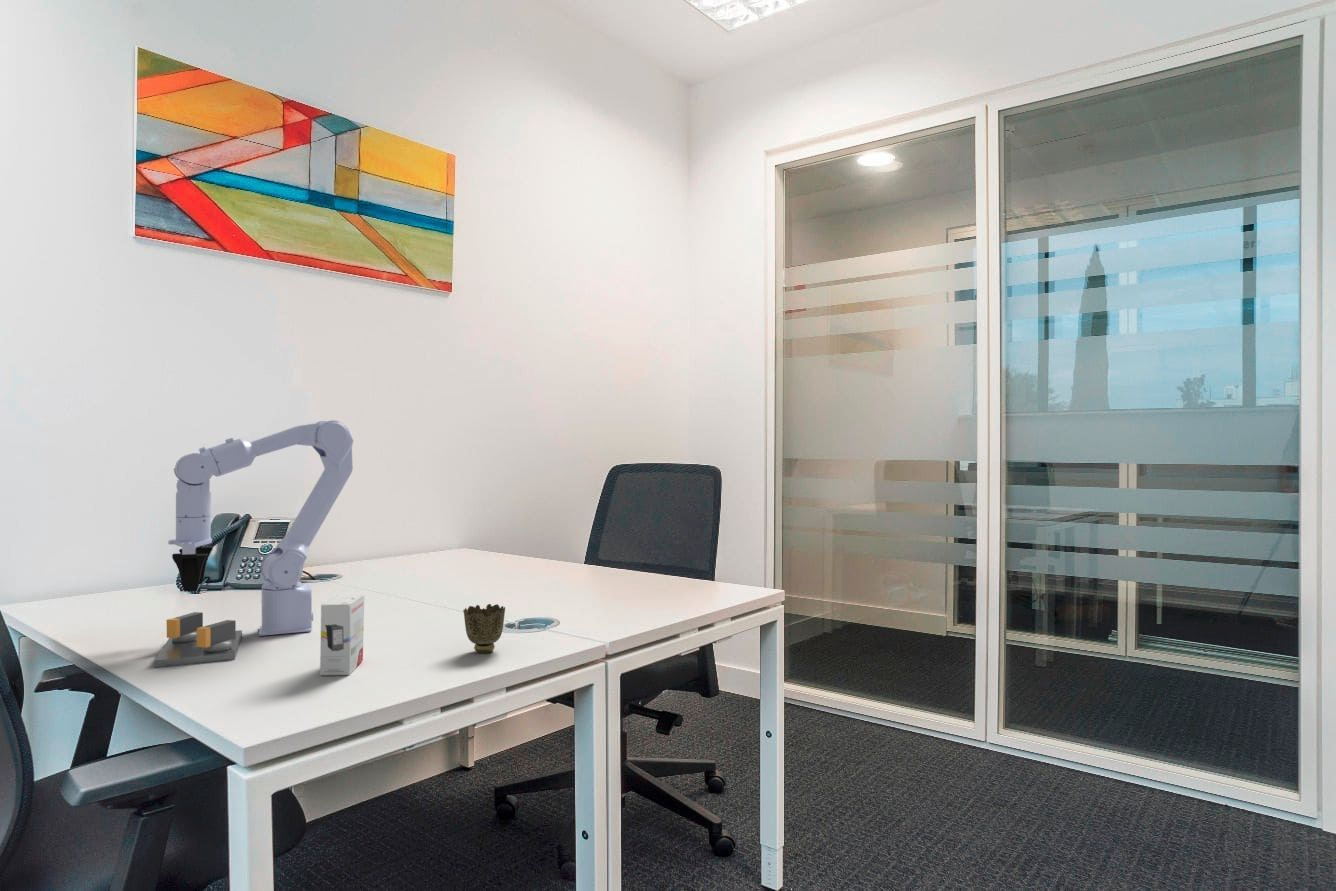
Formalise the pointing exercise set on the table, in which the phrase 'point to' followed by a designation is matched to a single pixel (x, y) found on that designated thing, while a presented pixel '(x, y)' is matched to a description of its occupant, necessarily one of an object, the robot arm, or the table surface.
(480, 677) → the table surface
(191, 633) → the knob
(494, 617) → the cup
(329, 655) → the ink box
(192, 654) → the plate
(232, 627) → the knob
